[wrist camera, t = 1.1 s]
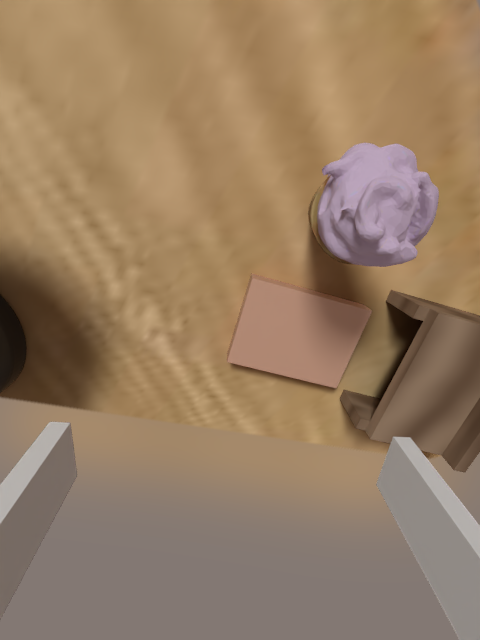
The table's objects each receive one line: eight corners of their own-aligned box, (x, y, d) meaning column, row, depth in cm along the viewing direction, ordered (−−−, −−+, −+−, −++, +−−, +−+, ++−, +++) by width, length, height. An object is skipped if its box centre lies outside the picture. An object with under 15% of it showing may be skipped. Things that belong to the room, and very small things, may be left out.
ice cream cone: (268, 196, 27) (305, 188, 13) (328, 149, 26) (438, 86, 12) (307, 256, 29) (375, 305, 15) (365, 216, 28) (496, 228, 14)
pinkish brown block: (227, 350, 33) (227, 361, 31) (251, 272, 30) (252, 278, 28) (329, 375, 35) (336, 388, 32) (362, 303, 32) (372, 311, 29)
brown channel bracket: (339, 398, 35) (368, 451, 28) (391, 289, 31) (442, 317, 23) (417, 417, 36) (464, 472, 29) (478, 315, 32) (553, 349, 24)
